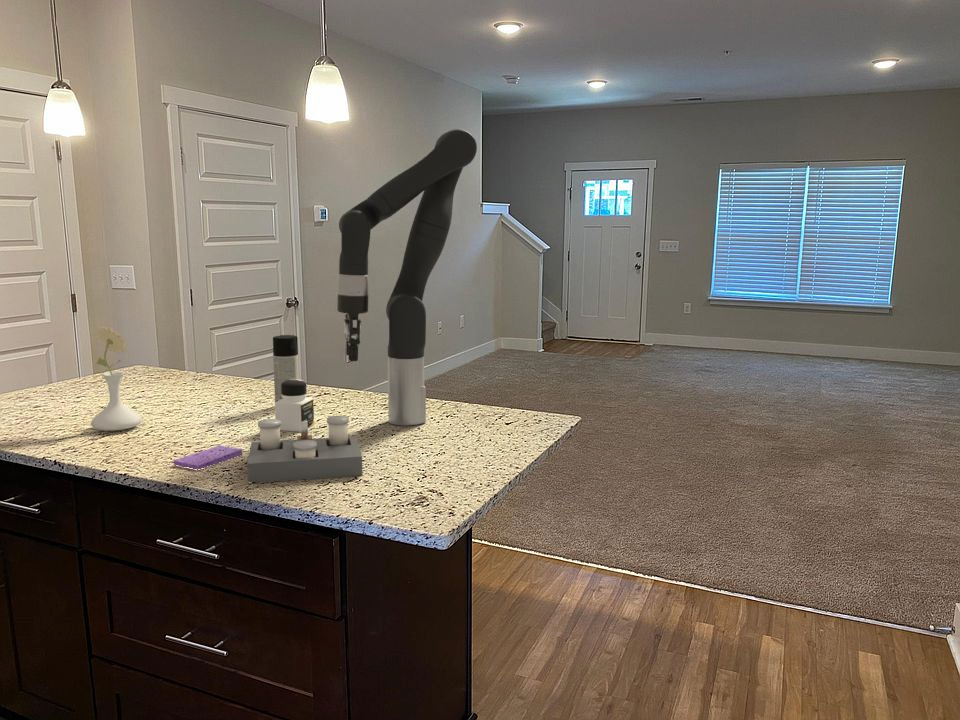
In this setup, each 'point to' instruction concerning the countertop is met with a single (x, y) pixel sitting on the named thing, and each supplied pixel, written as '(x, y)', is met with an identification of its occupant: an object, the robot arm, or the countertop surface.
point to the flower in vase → (114, 389)
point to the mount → (304, 462)
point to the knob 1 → (269, 434)
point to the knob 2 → (338, 430)
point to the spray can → (284, 361)
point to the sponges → (208, 457)
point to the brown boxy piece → (304, 432)
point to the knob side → (305, 448)
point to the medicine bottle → (294, 406)
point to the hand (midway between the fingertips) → (351, 357)
